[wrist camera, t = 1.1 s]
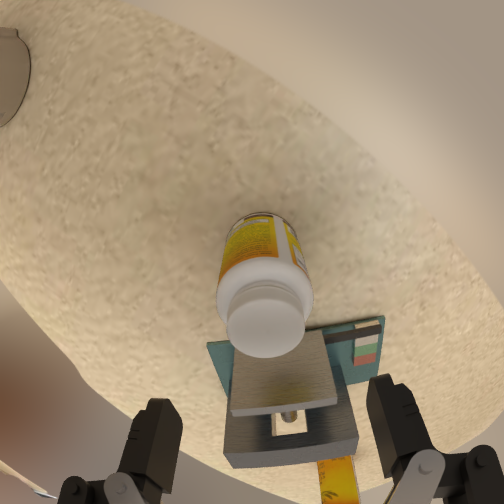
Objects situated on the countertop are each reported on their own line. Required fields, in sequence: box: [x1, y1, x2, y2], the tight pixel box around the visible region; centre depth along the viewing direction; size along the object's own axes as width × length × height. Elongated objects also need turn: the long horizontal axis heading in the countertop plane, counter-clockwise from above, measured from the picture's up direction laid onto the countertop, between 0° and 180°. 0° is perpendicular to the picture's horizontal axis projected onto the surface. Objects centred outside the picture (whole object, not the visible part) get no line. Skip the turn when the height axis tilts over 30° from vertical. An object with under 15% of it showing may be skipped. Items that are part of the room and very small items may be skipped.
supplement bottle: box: [216, 213, 314, 358], centre depth 19 cm, size 6×6×10 cm
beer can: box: [317, 455, 361, 504], centre depth 34 cm, size 6×6×15 cm
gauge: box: [207, 316, 385, 469], centre depth 25 cm, size 10×18×10 cm, turn 100°
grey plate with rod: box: [230, 324, 382, 423], centre depth 25 cm, size 8×14×8 cm, turn 100°
